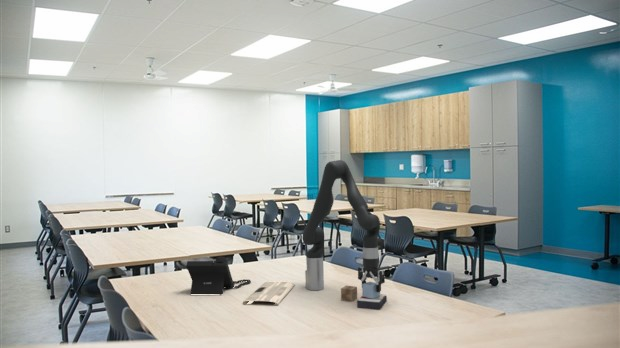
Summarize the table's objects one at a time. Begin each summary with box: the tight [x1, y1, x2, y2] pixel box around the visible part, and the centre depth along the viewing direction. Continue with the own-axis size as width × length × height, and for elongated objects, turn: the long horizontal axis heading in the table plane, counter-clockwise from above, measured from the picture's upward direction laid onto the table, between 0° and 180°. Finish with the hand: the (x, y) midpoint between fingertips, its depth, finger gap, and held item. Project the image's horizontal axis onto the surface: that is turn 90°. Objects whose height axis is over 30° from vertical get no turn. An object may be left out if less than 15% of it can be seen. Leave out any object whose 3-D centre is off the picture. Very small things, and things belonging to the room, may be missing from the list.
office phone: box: [185, 256, 252, 294], centre depth 251 cm, size 29×28×20 cm
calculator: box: [356, 293, 388, 311], centre depth 216 cm, size 11×4×15 cm
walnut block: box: [340, 285, 358, 303], centre depth 224 cm, size 6×6×6 cm
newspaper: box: [242, 280, 296, 306], centre depth 236 cm, size 37×19×3 cm, turn 169°
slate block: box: [361, 281, 381, 299], centre depth 216 cm, size 6×6×6 cm
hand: (371, 290), depth 215 cm, fingers open, 8 cm apart
